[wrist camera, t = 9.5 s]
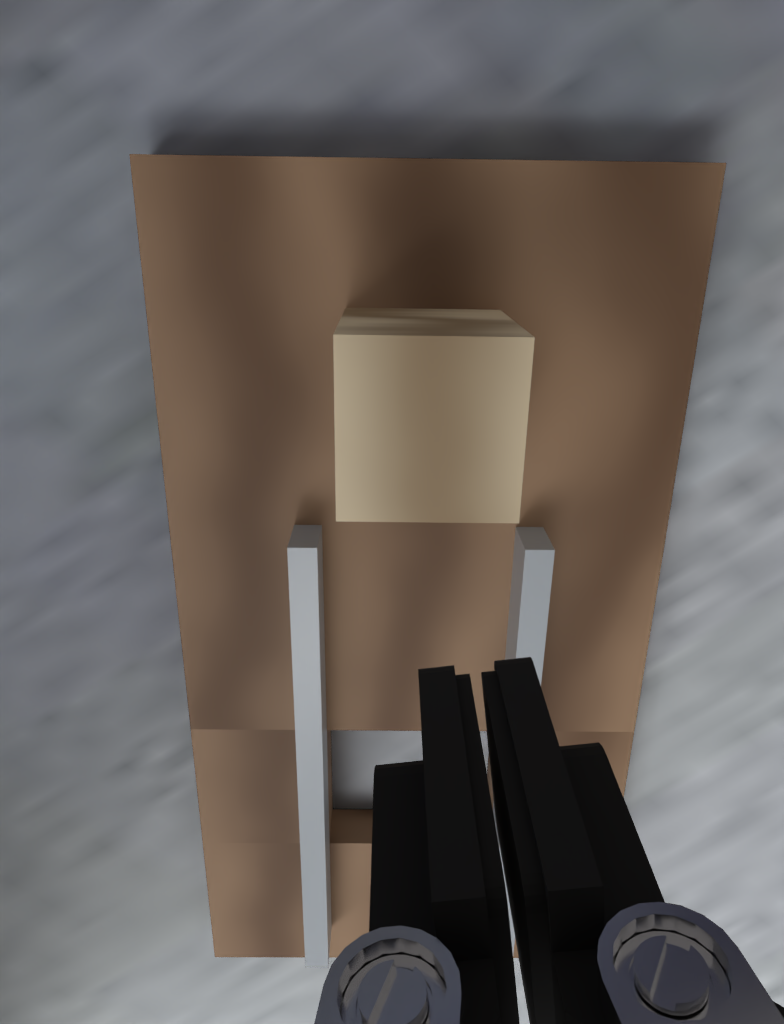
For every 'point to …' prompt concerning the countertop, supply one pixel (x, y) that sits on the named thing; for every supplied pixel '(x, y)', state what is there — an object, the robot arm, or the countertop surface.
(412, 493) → the block
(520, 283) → the deck
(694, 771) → the countertop surface
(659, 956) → the robot arm
